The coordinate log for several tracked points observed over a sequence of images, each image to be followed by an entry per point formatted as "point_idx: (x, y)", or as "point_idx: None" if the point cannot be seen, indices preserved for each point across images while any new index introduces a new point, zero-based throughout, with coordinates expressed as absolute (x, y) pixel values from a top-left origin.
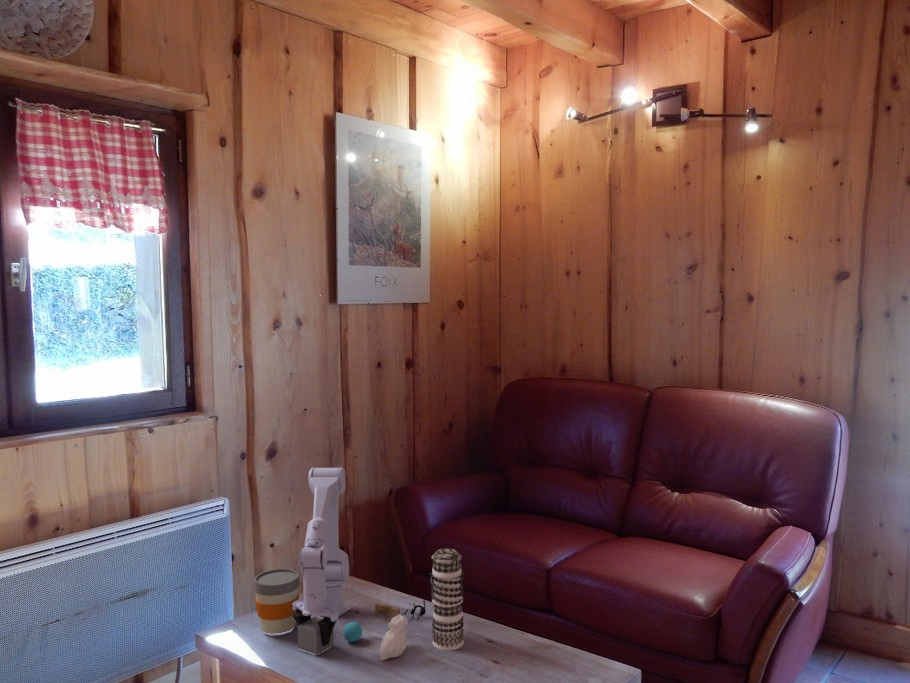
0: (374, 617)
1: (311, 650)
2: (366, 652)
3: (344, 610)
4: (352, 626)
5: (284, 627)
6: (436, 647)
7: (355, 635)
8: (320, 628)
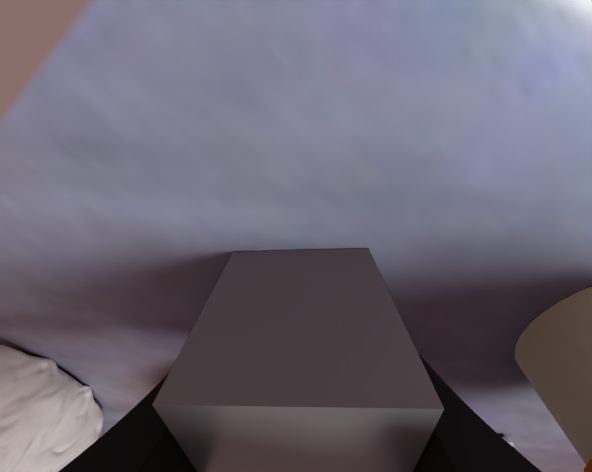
0: None
1: (265, 264)
2: (113, 355)
3: None
4: None
5: (579, 350)
6: None
7: None
8: (135, 454)
